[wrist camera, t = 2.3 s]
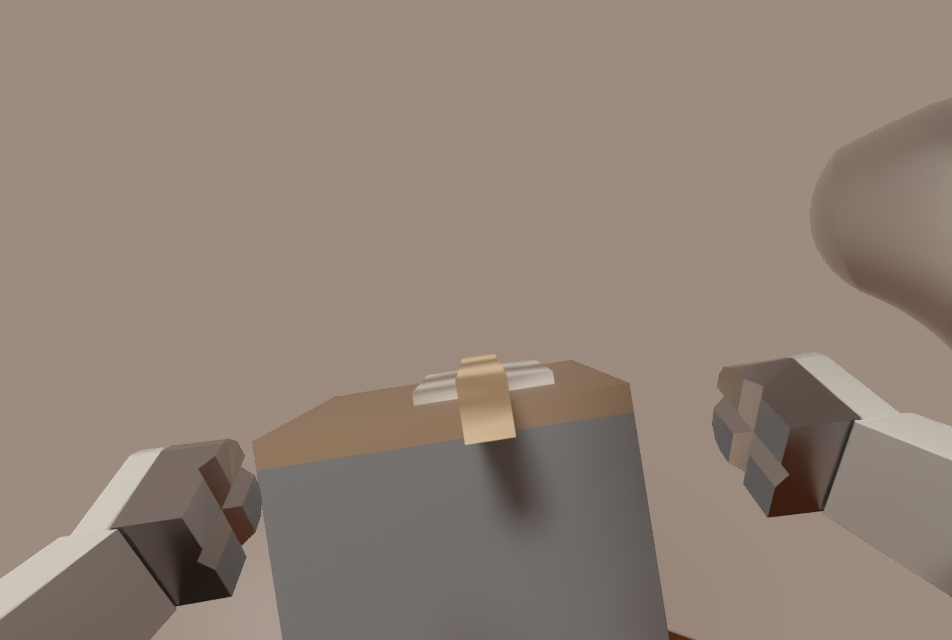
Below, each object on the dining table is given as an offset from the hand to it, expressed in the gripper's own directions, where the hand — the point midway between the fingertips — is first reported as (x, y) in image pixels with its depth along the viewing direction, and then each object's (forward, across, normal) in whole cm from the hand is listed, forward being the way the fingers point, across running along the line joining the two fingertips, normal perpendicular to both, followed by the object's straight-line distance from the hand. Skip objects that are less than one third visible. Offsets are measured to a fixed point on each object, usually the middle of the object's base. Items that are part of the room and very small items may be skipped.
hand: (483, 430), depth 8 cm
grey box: (+9, +2, +38) cm, 39 cm away
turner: (+17, 0, +13) cm, 22 cm away
